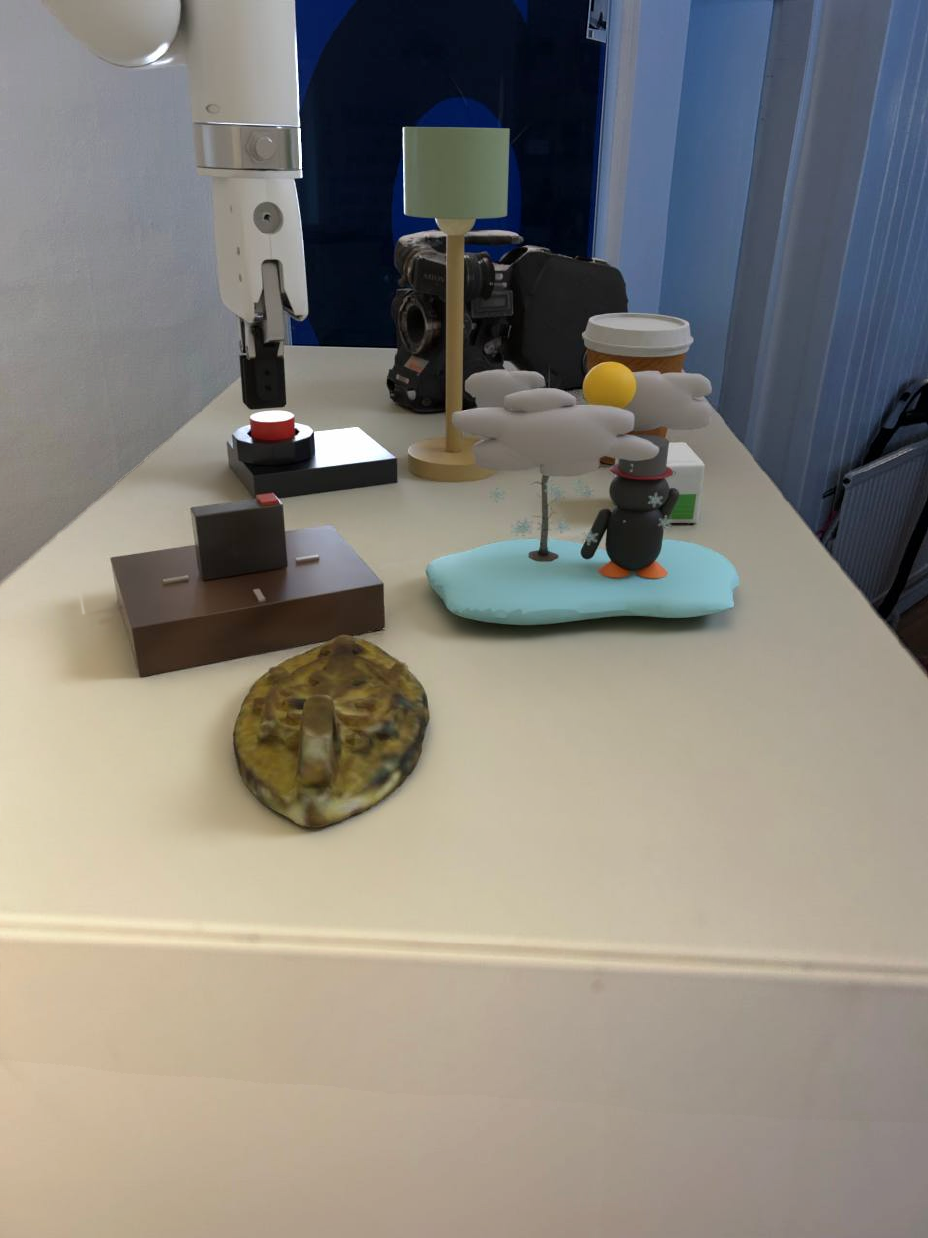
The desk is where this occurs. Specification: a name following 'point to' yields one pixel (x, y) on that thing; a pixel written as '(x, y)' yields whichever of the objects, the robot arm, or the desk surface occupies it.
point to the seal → (330, 731)
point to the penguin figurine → (571, 446)
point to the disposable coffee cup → (638, 347)
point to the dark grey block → (239, 537)
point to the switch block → (310, 462)
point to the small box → (684, 482)
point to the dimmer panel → (244, 602)
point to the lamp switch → (272, 425)
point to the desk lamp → (453, 257)
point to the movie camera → (495, 313)
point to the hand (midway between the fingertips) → (264, 405)
